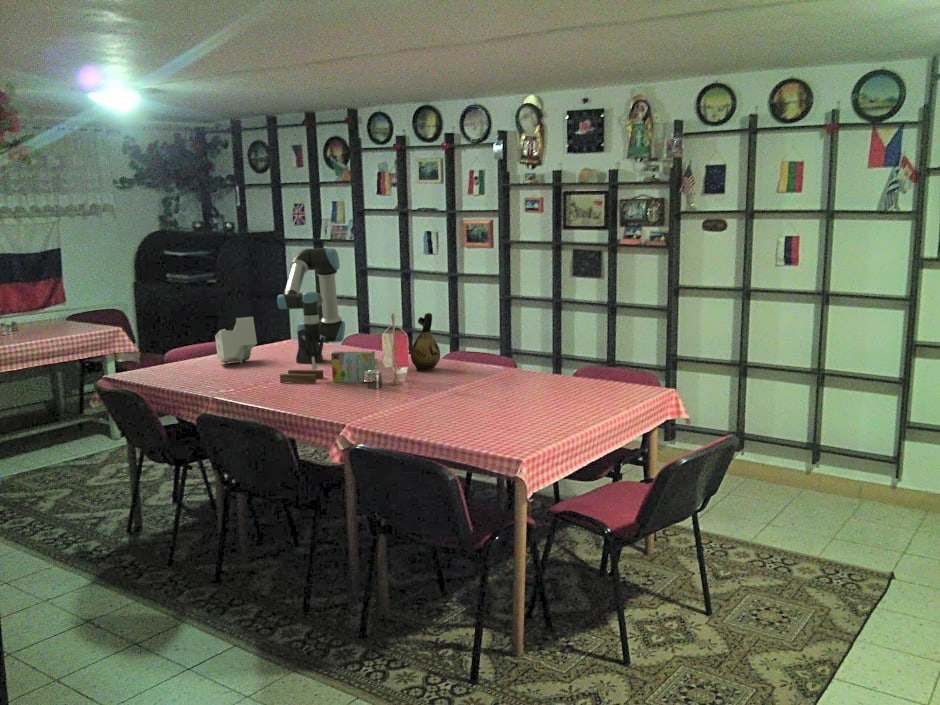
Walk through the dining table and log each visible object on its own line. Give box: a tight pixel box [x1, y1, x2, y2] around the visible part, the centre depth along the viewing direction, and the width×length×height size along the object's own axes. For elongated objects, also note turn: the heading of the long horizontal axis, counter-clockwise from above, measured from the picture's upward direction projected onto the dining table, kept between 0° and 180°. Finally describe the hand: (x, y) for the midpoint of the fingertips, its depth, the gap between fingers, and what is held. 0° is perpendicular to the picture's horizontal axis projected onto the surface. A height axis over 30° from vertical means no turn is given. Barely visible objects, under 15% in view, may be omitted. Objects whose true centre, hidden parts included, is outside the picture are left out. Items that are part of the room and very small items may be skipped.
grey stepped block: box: [214, 316, 258, 365], centre depth 475 cm, size 20×16×25 cm
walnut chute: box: [279, 369, 324, 384], centre depth 426 cm, size 13×18×4 cm
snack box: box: [331, 350, 376, 384], centre depth 418 cm, size 21×6×15 cm, turn 78°
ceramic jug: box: [410, 312, 441, 373], centre depth 441 cm, size 17×15×30 cm
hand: (314, 369), depth 424 cm, fingers closed
